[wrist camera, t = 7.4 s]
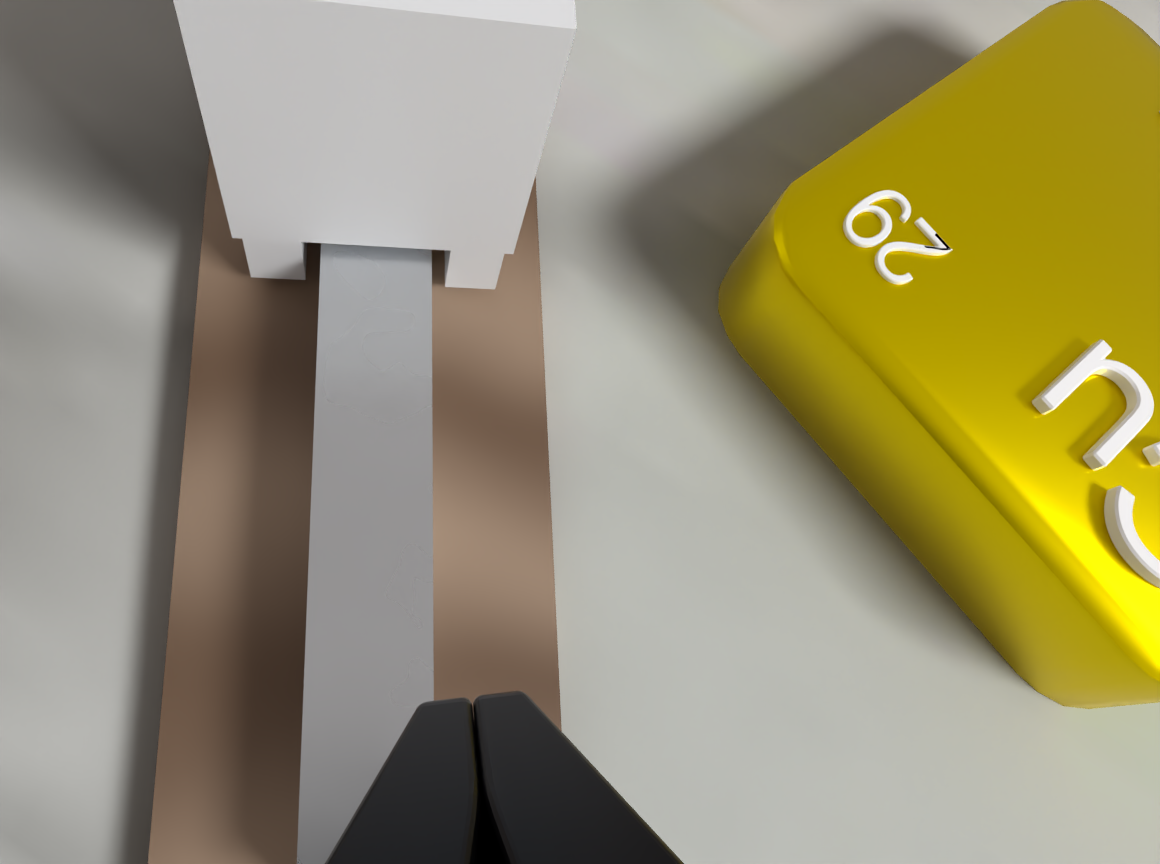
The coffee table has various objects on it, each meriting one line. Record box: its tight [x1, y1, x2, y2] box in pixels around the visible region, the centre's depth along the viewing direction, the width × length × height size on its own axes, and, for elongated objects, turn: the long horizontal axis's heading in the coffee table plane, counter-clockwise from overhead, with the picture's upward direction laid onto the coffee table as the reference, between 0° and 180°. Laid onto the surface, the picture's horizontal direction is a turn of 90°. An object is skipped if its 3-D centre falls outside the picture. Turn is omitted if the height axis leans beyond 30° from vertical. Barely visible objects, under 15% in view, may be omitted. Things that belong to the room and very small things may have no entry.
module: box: [173, 0, 577, 289], centre depth 19 cm, size 5×6×9 cm
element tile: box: [718, 0, 1160, 709], centre depth 25 cm, size 15×15×5 cm
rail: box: [297, 243, 434, 864], centre depth 20 cm, size 20×7×5 cm, turn 3°
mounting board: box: [148, 150, 561, 864], centre depth 22 cm, size 22×8×1 cm, turn 3°
